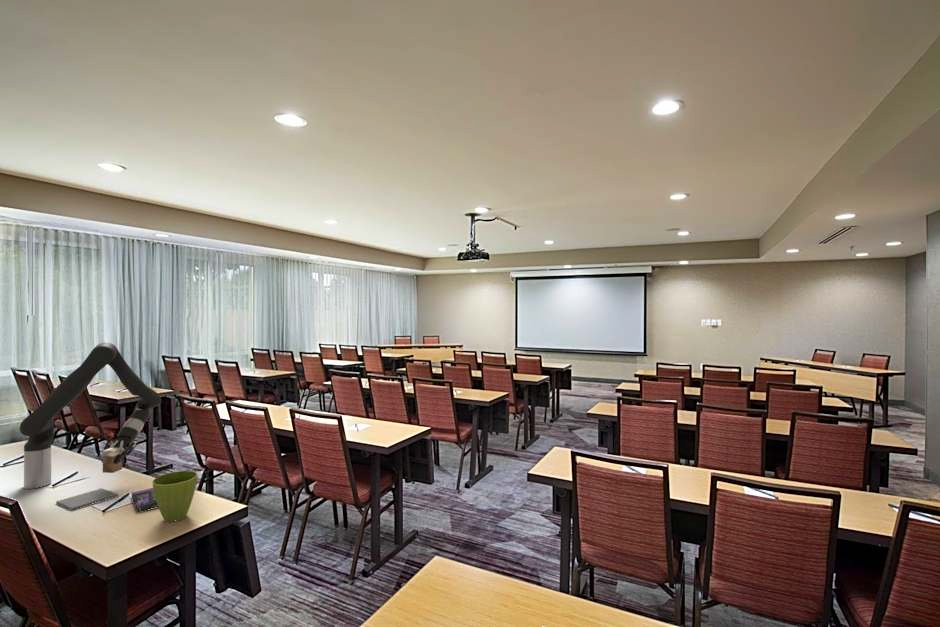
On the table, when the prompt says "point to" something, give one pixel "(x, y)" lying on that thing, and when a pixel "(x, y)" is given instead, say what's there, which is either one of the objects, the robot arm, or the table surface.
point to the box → (144, 499)
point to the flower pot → (174, 493)
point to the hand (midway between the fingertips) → (109, 462)
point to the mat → (86, 499)
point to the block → (111, 460)
